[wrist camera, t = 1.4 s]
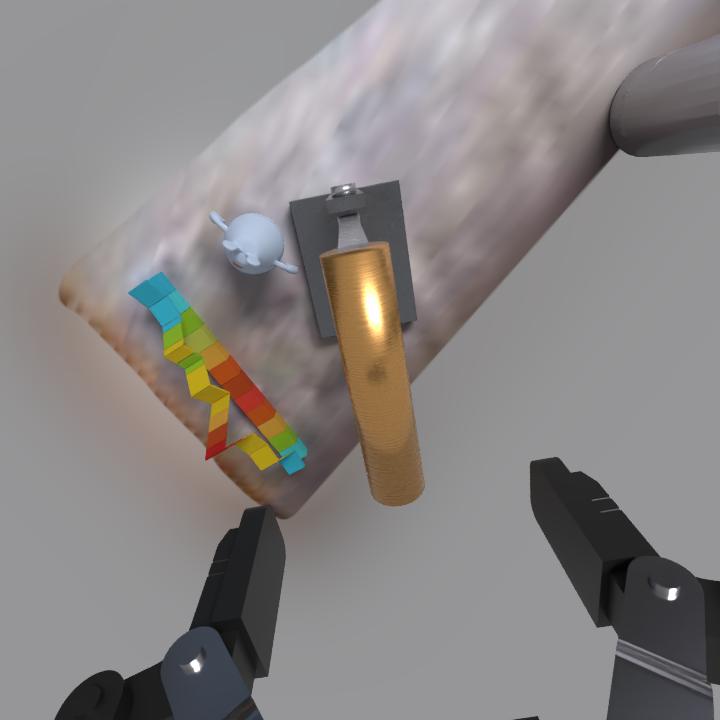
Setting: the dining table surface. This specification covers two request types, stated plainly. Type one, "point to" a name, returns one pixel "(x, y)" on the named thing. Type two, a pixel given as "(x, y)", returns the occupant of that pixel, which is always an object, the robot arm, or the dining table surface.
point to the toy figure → (253, 243)
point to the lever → (374, 361)
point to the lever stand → (378, 223)
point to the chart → (218, 379)
